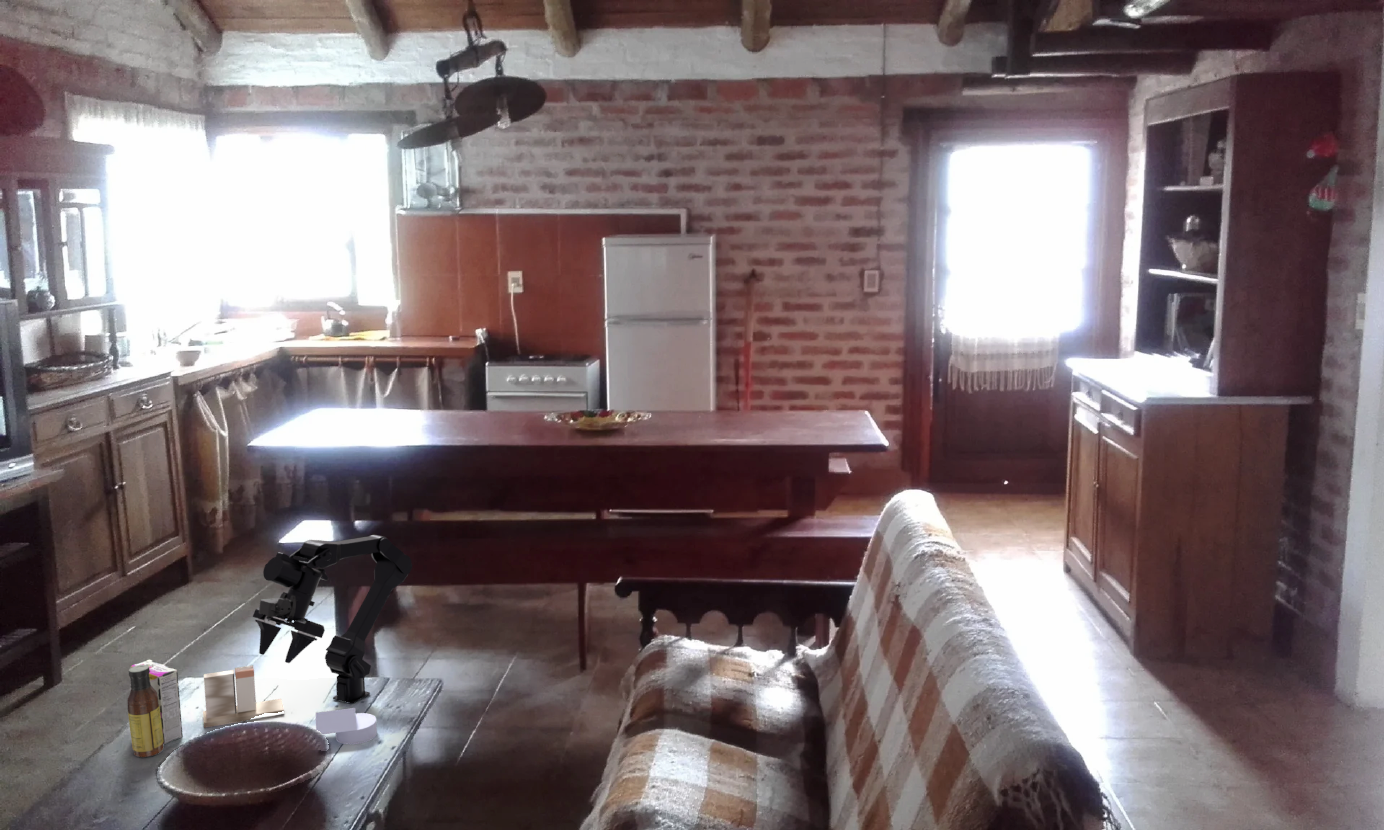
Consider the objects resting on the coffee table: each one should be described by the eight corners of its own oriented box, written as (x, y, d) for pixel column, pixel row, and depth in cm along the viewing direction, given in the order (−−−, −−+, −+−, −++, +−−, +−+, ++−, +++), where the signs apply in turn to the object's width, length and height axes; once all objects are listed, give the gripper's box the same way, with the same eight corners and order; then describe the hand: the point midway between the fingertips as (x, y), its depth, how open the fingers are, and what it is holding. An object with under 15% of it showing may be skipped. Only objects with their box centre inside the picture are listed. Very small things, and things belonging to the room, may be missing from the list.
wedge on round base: (317, 749, 244) (377, 741, 248) (315, 720, 243) (376, 713, 247) (317, 731, 252) (375, 724, 256) (315, 704, 251) (374, 697, 255)
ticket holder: (281, 702, 268) (279, 659, 266) (284, 714, 261) (281, 669, 259) (203, 715, 260) (200, 671, 258) (204, 727, 254) (200, 681, 252)
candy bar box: (134, 733, 251) (128, 665, 248) (155, 725, 255) (149, 658, 253) (163, 745, 245) (157, 676, 242) (183, 737, 249) (178, 668, 247)
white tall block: (255, 704, 263) (253, 665, 261) (256, 709, 260) (253, 669, 259) (237, 707, 261) (234, 667, 260) (238, 712, 259) (235, 672, 257)
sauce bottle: (158, 743, 246) (151, 659, 243) (168, 752, 242) (162, 666, 239) (127, 752, 242) (120, 667, 239) (137, 762, 237) (129, 675, 234)
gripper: (248, 576, 254) (220, 641, 249) (301, 590, 244) (273, 658, 239) (284, 589, 263) (258, 652, 258) (337, 603, 253) (310, 670, 248)
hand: (274, 658), depth 251 cm, fingers open, 9 cm apart
